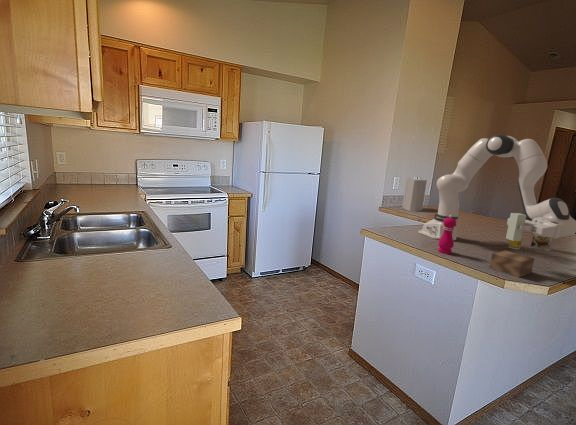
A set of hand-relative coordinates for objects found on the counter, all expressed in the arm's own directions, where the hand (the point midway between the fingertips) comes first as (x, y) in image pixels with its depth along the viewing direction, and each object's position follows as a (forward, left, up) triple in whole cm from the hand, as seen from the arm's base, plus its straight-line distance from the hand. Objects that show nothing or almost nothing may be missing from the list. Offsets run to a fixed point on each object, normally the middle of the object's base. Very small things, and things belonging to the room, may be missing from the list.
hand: (514, 225), depth 143 cm
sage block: (0, +1, -7) cm, 7 cm away
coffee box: (-9, +61, -21) cm, 65 cm away
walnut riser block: (+2, -1, -20) cm, 21 cm away
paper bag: (-119, +91, -21) cm, 151 cm away
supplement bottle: (-16, +45, -21) cm, 52 cm away
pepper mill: (-27, -6, -21) cm, 34 cm away
